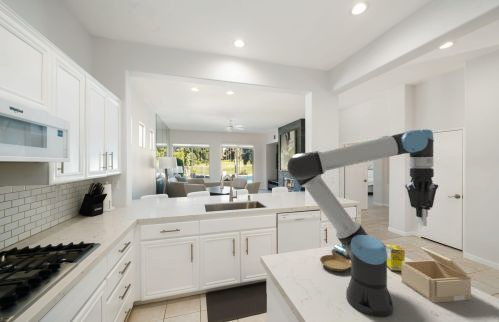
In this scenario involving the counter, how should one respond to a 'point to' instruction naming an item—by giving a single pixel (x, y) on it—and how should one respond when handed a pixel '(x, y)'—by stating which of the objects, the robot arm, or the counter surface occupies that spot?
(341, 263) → the plant saucer
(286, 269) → the counter surface
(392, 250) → the supplement box
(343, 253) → the brown slatted round stand
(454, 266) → the flap
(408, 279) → the carton
